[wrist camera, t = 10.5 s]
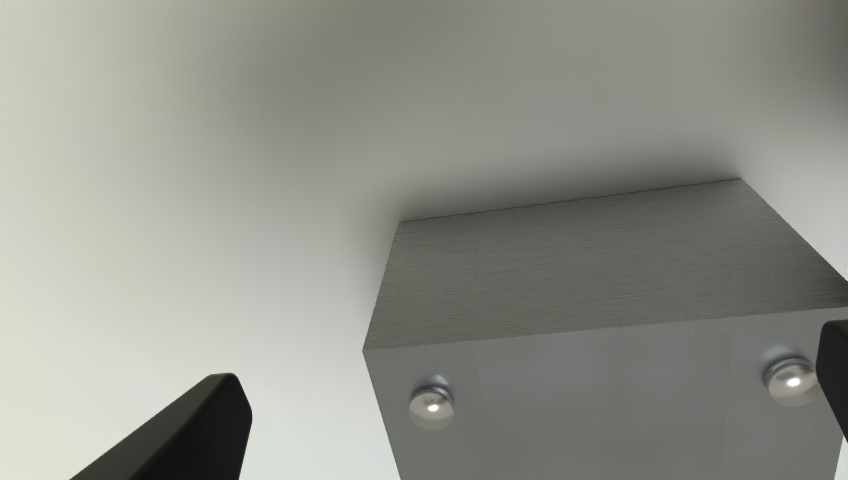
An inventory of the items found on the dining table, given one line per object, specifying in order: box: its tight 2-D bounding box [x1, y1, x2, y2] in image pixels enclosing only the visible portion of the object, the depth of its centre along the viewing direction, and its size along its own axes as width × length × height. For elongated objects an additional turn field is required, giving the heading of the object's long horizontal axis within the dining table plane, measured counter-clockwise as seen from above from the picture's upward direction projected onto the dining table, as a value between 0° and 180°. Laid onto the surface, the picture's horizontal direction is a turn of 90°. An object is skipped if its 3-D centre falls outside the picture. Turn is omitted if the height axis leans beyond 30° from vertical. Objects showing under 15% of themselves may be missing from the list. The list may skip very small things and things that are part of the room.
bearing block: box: [362, 179, 848, 480], centre depth 19 cm, size 10×12×8 cm
